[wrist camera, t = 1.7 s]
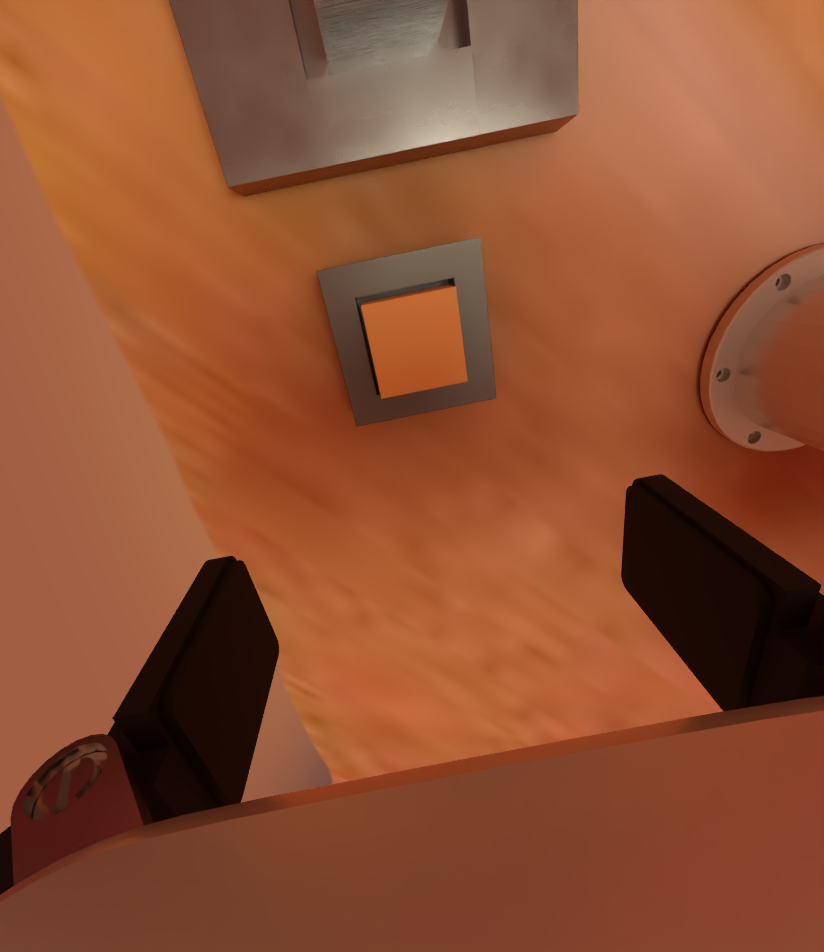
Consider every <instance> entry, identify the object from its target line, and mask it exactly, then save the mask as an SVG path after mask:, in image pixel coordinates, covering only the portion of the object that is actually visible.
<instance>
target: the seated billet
mask: <svg viewBox="0 0 824 952" xmlns="http://www.w3.org/2000/svg"><path fill="white" fill-rule="evenodd" d="M448 1H449V0H314V5H315V9H316V14H317V18H318V22H319V27H320V31H321V36H322V40H323V44H324V49H325V53H326V58H327V60H331V59H336V58H341V57H345V56H350V55H355V54H359V53H364V52H369V51H374V50H378V49H383V48H388V47H393V46H397V45H402V44H407V43H412V42H416V41H421V40H426V39H431V38H435V37H439V35H440V31H441V27H442V23H443V20H444V16H445V12H446V8H447V5H448Z"/></svg>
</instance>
